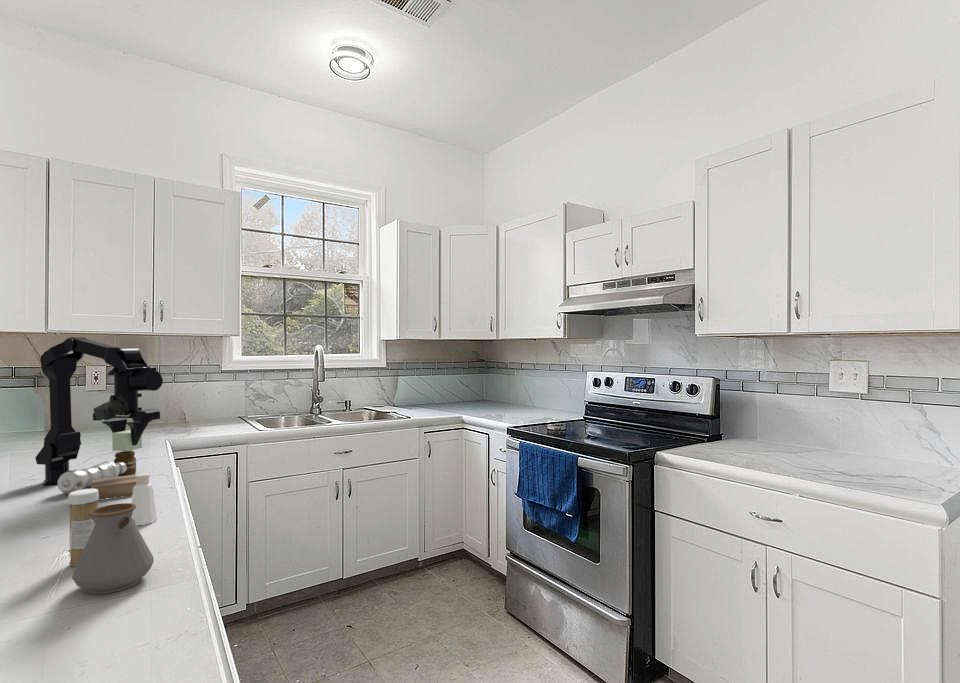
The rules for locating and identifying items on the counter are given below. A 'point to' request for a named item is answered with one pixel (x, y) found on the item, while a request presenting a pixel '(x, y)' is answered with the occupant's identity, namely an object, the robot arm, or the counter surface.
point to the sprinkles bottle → (81, 520)
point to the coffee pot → (113, 552)
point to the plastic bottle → (89, 476)
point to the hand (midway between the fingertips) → (127, 444)
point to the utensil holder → (126, 461)
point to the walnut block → (114, 486)
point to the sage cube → (124, 441)
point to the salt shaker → (143, 501)
